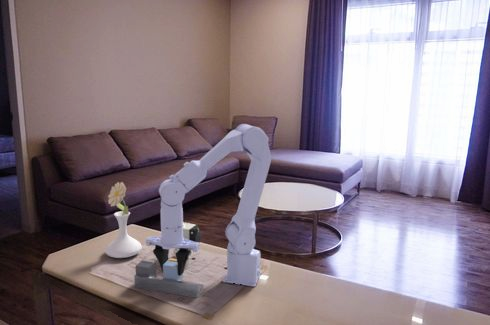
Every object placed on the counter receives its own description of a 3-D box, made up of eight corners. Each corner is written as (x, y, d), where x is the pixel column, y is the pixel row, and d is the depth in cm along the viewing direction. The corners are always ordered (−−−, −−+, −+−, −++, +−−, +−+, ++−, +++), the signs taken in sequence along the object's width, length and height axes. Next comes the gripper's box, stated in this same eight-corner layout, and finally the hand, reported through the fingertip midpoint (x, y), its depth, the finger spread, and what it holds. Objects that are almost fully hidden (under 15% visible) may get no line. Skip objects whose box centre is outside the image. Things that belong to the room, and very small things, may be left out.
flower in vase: (104, 249, 120) (99, 177, 115) (139, 244, 125) (136, 174, 120) (107, 266, 108) (102, 187, 104) (145, 259, 113) (142, 183, 108)
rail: (203, 287, 98) (203, 266, 96) (196, 297, 93) (196, 275, 92) (144, 278, 102) (143, 258, 101) (134, 287, 97) (133, 266, 96)
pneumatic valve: (195, 263, 111) (195, 227, 109) (163, 257, 115) (162, 221, 113) (203, 256, 116) (203, 221, 114) (172, 250, 120) (171, 216, 118)
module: (183, 277, 99) (182, 259, 98) (177, 284, 95) (176, 266, 94) (169, 275, 100) (169, 257, 99) (163, 282, 96) (162, 264, 95)
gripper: (139, 227, 92) (141, 275, 95) (191, 233, 89) (192, 283, 91) (152, 218, 99) (154, 263, 101) (202, 224, 95) (202, 270, 98)
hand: (173, 272), depth 97 cm, fingers closed on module, 4 cm apart
